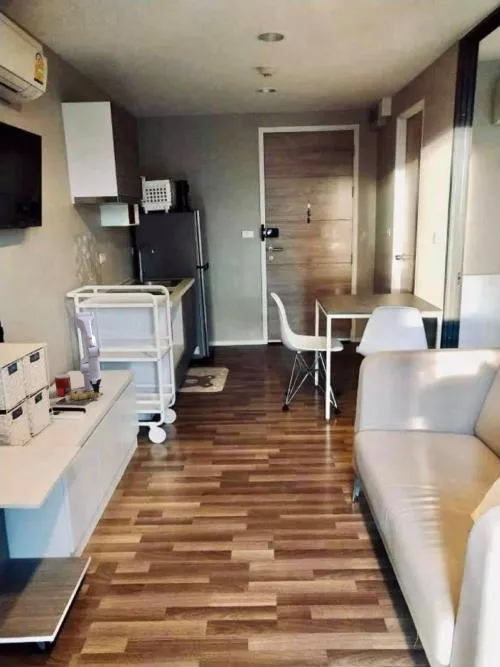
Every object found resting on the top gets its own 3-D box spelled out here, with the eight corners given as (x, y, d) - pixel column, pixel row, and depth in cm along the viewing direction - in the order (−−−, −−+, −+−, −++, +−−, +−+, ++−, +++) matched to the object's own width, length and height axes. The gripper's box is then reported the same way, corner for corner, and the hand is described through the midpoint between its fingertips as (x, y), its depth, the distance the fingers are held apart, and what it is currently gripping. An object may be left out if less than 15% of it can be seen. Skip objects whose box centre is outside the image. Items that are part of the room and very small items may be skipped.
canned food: (67, 397, 275) (65, 377, 273) (53, 396, 277) (51, 377, 274) (74, 393, 282) (72, 373, 280) (61, 392, 284) (59, 373, 282)
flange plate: (75, 393, 281) (74, 385, 280) (103, 394, 277) (102, 386, 276) (56, 403, 264) (55, 395, 263) (85, 405, 260) (84, 397, 259)
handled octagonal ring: (65, 399, 267) (65, 394, 267) (78, 392, 278) (77, 388, 277) (94, 400, 263) (93, 396, 262) (105, 394, 273) (105, 389, 273)
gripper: (88, 366, 277) (90, 390, 280) (85, 372, 263) (87, 397, 266) (101, 365, 279) (103, 388, 281) (99, 371, 265) (101, 396, 267)
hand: (96, 393), depth 274 cm, fingers closed
